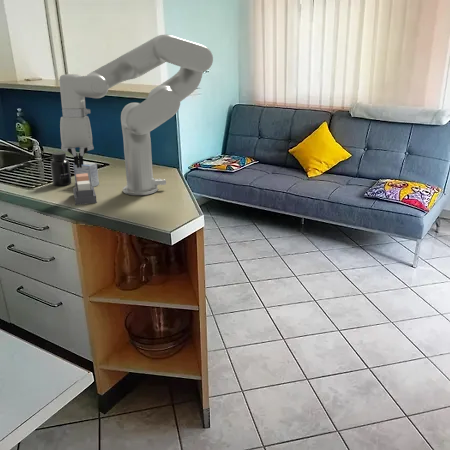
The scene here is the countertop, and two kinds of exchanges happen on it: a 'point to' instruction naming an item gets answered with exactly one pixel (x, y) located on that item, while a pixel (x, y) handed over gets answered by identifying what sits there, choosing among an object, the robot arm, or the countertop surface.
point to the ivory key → (83, 185)
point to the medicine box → (90, 169)
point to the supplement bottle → (60, 169)
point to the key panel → (84, 195)
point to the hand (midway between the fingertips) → (79, 166)
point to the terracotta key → (82, 177)
